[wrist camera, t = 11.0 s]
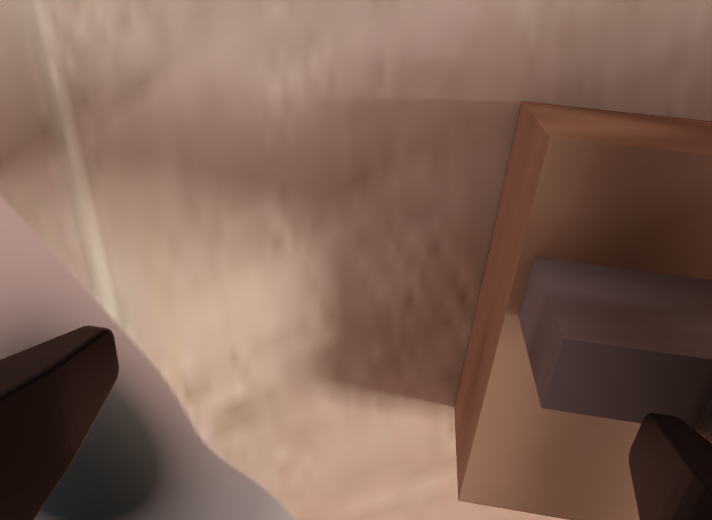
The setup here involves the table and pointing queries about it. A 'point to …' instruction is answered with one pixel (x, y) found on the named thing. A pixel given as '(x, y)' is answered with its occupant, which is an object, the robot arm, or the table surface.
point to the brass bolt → (705, 420)
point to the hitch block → (587, 310)
